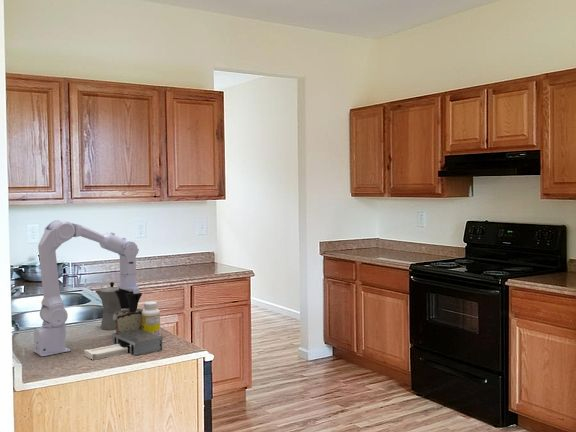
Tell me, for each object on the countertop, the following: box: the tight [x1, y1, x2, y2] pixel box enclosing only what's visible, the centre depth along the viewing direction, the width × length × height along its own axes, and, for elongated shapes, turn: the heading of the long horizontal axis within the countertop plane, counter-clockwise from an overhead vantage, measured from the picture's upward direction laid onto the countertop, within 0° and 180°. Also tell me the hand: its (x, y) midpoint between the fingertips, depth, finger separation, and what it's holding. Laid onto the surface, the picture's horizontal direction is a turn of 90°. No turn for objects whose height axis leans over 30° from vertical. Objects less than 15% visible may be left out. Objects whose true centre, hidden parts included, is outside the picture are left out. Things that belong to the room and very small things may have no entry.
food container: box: [113, 308, 144, 333], centre depth 210 cm, size 12×6×10 cm, turn 140°
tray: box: [84, 344, 129, 361], centre depth 189 cm, size 12×6×2 cm, turn 132°
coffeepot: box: [94, 281, 131, 331], centre depth 226 cm, size 15×9×18 cm, turn 90°
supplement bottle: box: [142, 301, 161, 337], centre depth 211 cm, size 7×7×13 cm
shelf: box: [112, 329, 163, 357], centre depth 197 cm, size 10×16×4 cm, turn 42°
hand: (128, 310), depth 211 cm, fingers open, 7 cm apart
